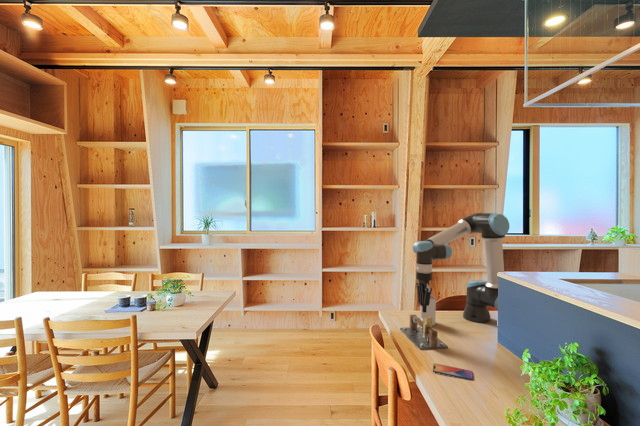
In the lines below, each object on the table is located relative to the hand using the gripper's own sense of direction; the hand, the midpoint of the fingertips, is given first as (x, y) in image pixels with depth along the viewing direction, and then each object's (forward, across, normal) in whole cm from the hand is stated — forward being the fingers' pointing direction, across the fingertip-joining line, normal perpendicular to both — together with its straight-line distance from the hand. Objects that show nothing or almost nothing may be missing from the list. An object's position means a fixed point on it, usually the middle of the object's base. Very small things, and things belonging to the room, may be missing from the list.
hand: (423, 317), depth 169 cm
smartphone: (+11, +34, -3) cm, 36 cm away
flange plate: (+11, 0, 0) cm, 11 cm away
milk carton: (+11, -21, +13) cm, 27 cm away
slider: (+9, +6, -1) cm, 11 cm away
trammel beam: (+11, 0, 0) cm, 11 cm away
